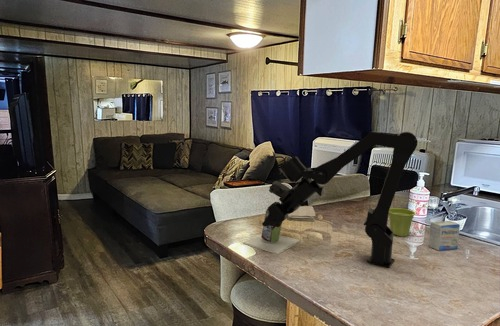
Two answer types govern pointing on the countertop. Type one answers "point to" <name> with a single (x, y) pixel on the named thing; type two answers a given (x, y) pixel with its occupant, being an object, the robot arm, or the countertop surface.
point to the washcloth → (303, 214)
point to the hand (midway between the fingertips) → (268, 221)
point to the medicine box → (444, 235)
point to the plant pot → (400, 221)
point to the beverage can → (271, 231)
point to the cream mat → (271, 244)
